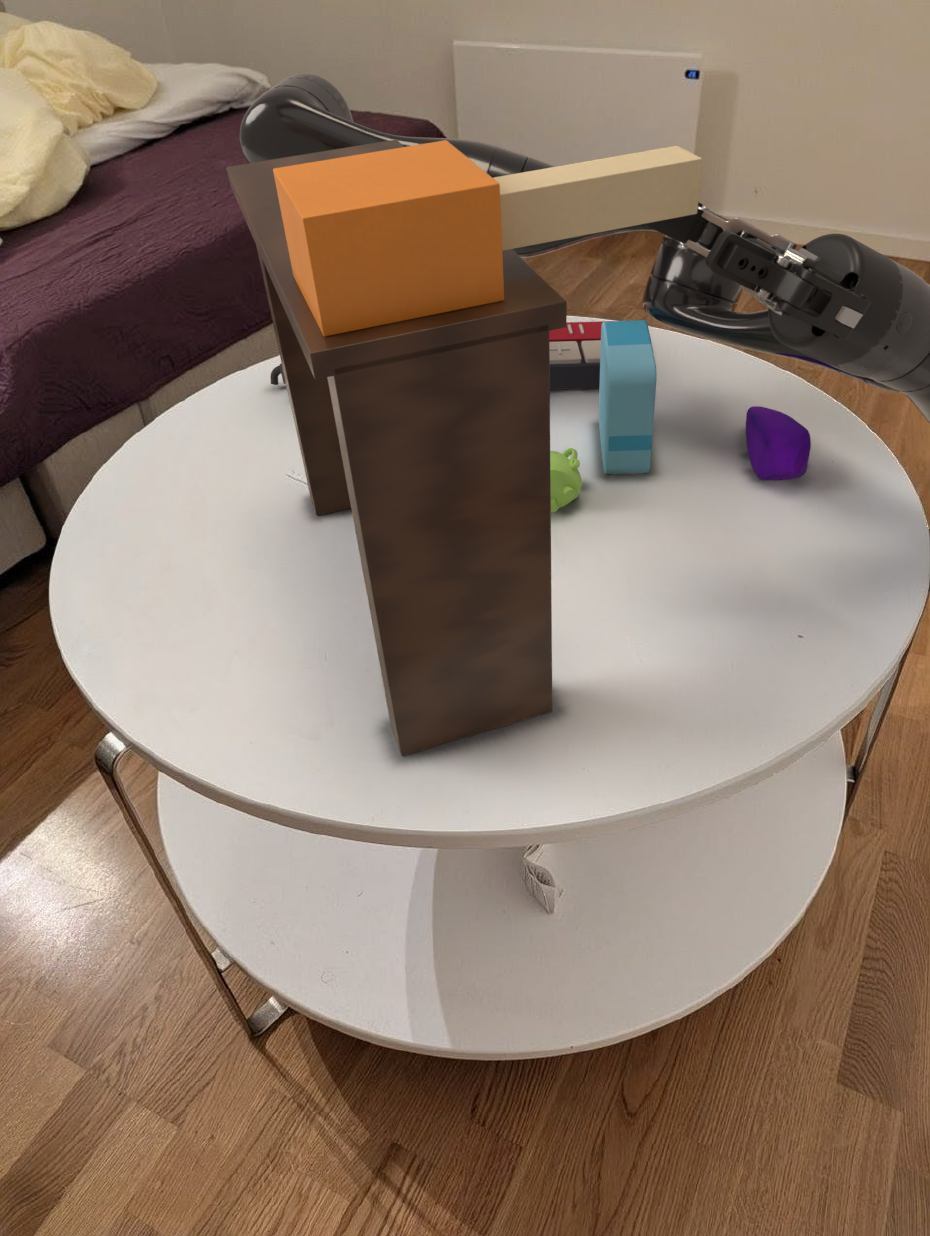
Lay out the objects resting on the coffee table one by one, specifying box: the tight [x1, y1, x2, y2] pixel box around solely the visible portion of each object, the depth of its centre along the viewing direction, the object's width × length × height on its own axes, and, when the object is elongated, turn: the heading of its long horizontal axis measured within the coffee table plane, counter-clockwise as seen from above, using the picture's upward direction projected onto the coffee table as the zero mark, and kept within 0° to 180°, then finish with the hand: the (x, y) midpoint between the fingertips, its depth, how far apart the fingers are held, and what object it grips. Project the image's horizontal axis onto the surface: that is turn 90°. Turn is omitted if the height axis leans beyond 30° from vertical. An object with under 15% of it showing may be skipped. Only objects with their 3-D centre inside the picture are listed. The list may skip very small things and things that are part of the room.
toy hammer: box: [273, 140, 703, 337], centre depth 51 cm, size 23×9×6 cm, turn 108°
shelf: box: [226, 140, 568, 756], centre depth 71 cm, size 14×36×32 cm, turn 18°
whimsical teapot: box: [550, 447, 583, 513], centre depth 89 cm, size 6×5×6 cm
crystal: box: [745, 405, 812, 481], centre depth 93 cm, size 5×5×15 cm
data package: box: [598, 319, 658, 475], centre depth 93 cm, size 12×4×12 cm, turn 177°
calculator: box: [549, 320, 607, 390], centre depth 110 cm, size 11×4×15 cm
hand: (679, 225), depth 55 cm, fingers open, 8 cm apart
